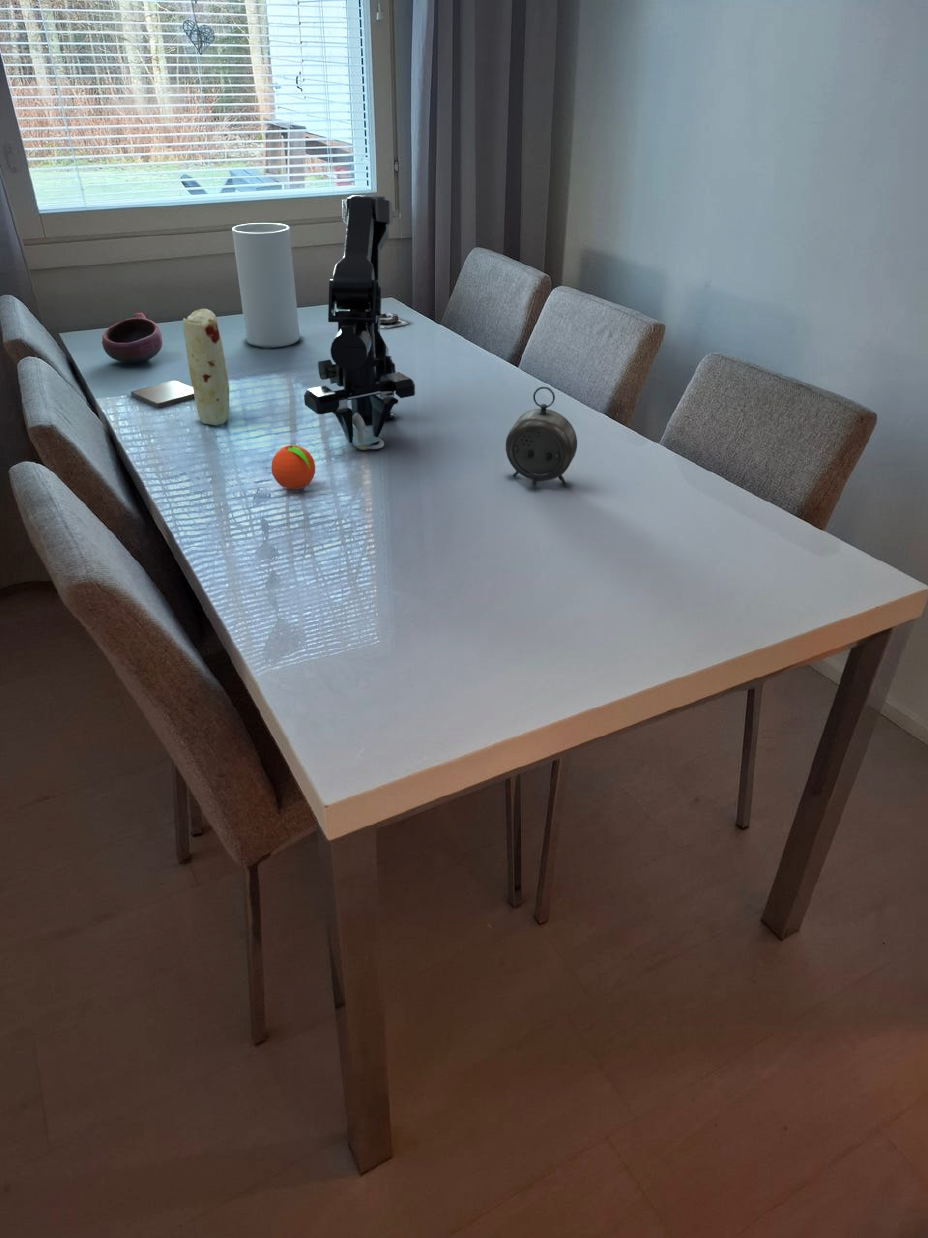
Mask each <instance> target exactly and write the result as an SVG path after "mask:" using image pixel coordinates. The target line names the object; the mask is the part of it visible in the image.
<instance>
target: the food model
mask: <svg viewBox="0 0 928 1238" xmlns="http://www.w3.org/2000/svg"><path fill="white" fill-rule="evenodd" d="M182 330H183V336H184V342H185V350H186V356H187V365H188V372H189V377H190V382H191V387H192V388H193V392H194V397H195V398H194V401H195V407H196V411H197V416H198V418H199V420H200V422H201V423H202V424H203V425H212V426H218V425H223V424H225V423H226V422H227V421H228V419H229V417H230V411H231V405H230V383H229V382H230V381H229V375H228V369H227V362H226V357H225V351H224V345H223V339H222V336H221V332H220V326H219V323H218V319H217V316H216V314H215V312H213V311H212V310H209V309H208V308H200V309H196V310H193V312H192V313H190V315H188V316H187V318H185V317H183V319H182Z"/></svg>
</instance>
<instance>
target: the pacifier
mask: <svg viewBox="0 0 928 1238" xmlns="http://www.w3.org/2000/svg"><path fill="white" fill-rule="evenodd" d="M375 443H377V444H375ZM351 444H353V446H354V447H355V448H356V449H358V450H364V451H365V450H379V449H381V448H383V447H384V446H385V442H384V440H383V439H382V438H380V437H378V438H377V437H375V436H374V434H373V433H372V432H370V431H368V430H366V424H365V423H364V421H363V419H362V417H361V416H360V414H358V413H355V414H354V416H353V442H352V443H351Z"/></svg>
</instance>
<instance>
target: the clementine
mask: <svg viewBox="0 0 928 1238" xmlns="http://www.w3.org/2000/svg"><path fill="white" fill-rule="evenodd" d="M270 465H271V466H270V470H271V474H272V476H273V479H274V480H275V481H276V483H278V485H280V486H281V487H283V488H285V489H287V490H291V491H292V490H300V489H304V488H305V487H307V486H308V485H309V484H310V483H311V482H312V480H313V479H314V477H315V474H316V464H315V459H314V458H313V456H312V454H311V453H310V452H309V451H308V450H307V449H305V448H304V447H302V446H299V445H296V444H294V445H293V444H292V445H291V444H290V445H284V446H283V447H282V448H280V449H279V450H277V451H276V452H275V454H274V455H273V457H272V460H271V464H270Z"/></svg>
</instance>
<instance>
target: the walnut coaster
mask: <svg viewBox="0 0 928 1238" xmlns="http://www.w3.org/2000/svg"><path fill="white" fill-rule="evenodd" d="M130 395H131V397H132V398H134V399H136V400H139V401H141V402H143V403H145V404H147V405H150V406H152V407H154V408H156V409H161V408H165V407H168V406H171V405H175V404H178V403H181V402H182V403H183V402H185V401H189V400H192V399H195V397H194V392H193V387H192V386H190V385H188V384H185V383H183V382H180V381H178V380H175V379H173V380H169V381H166V382H162V383H157V384H155V385H150V386H148V387H143V388H139V389H136V390H132V391H130Z"/></svg>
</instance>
